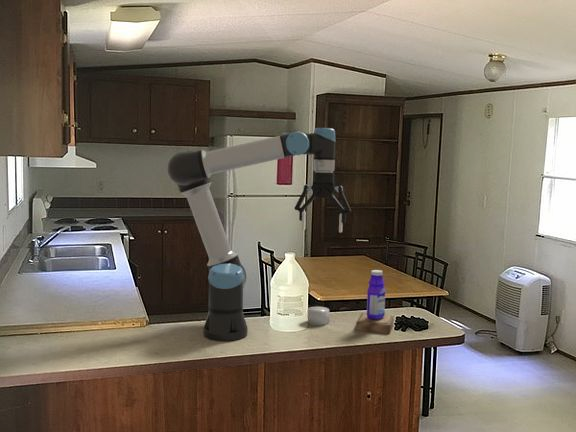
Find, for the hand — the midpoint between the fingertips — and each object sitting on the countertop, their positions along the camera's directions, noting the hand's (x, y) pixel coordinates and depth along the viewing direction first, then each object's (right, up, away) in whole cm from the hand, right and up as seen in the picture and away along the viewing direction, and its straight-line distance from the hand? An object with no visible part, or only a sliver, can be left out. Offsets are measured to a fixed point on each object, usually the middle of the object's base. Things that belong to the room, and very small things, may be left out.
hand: (321, 231), depth 216 cm
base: (+19, -35, +2) cm, 40 cm away
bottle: (+20, -32, +2) cm, 37 cm away
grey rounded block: (-1, -34, +7) cm, 35 cm away
